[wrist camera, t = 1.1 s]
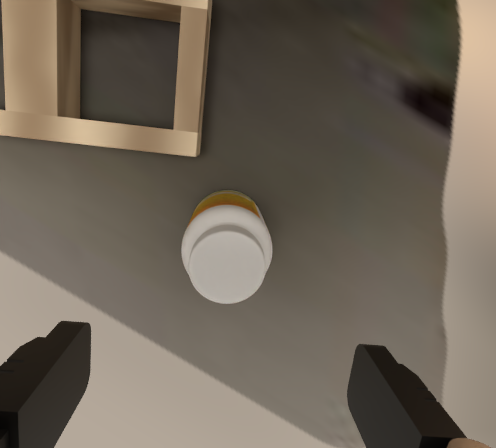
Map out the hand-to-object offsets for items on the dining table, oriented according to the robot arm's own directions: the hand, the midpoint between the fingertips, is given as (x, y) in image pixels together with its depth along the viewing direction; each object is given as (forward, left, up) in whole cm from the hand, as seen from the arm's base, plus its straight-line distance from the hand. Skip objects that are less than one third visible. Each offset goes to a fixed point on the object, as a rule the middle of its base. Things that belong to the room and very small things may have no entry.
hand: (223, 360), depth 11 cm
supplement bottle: (0, 0, -18) cm, 18 cm away
